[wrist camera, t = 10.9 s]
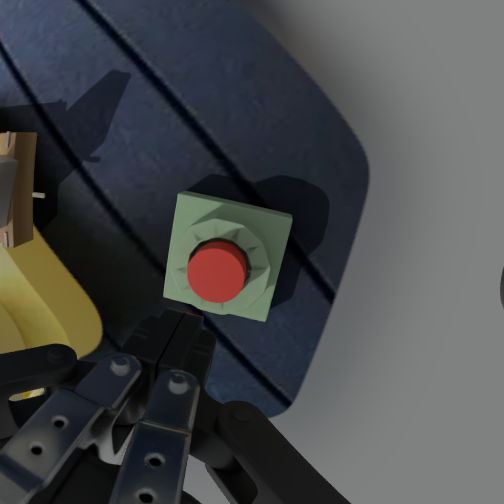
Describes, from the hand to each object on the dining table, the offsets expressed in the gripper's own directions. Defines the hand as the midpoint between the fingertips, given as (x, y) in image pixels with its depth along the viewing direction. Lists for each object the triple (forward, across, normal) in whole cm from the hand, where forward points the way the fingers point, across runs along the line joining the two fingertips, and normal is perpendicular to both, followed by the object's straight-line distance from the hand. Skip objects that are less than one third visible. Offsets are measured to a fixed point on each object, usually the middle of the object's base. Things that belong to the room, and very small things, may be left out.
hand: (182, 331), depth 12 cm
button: (+9, 0, 0) cm, 9 cm away
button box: (+12, 0, 0) cm, 12 cm away
